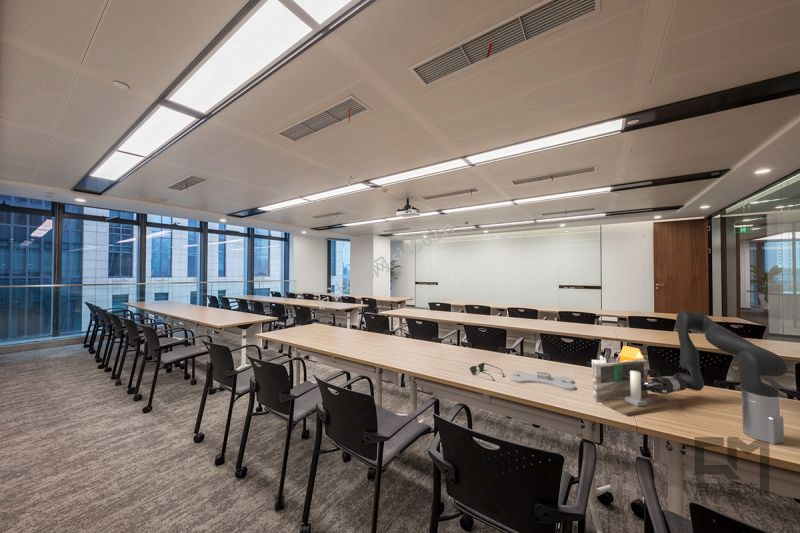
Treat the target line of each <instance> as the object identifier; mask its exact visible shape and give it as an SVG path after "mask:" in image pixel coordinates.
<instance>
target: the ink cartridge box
mask: <svg viewBox="0 0 800 533" xmlns="http://www.w3.org/2000/svg"><path fill="white" fill-rule="evenodd" d="M601 363H607V358H605V357H603V356H602V355H599V359H591V365H592V364H601ZM591 378H592V380H593V369H592V368H591Z"/></svg>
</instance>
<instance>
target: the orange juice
mask: <svg viewBox="0 0 800 533" xmlns="http://www.w3.org/2000/svg"><path fill="white" fill-rule="evenodd" d="M640 359H644V360H645V358H644V356H643V354H642V351H641V350H640V348H637V347H632V346H627V345H623V346H622V349H621V351H620V353H619V362H620V361H630V360H640Z"/></svg>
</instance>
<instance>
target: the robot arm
mask: <svg viewBox="0 0 800 533" xmlns="http://www.w3.org/2000/svg"><path fill="white" fill-rule="evenodd" d="M675 319H676V320H675V321H676V330H677V334H678V335H677V336H678V342H679V347H680V349H679V350H680V354H679V356H680V358H679V366H680V368H682V369H685V370H687V372H689V374H688V373H683V372H677V373H675V374H673V375H668V376H666V375H665V376H660V377H659V376H657V377H653V378H652V379H651V380H648V381H646V382H643V381H642V380H641V391H645V390H646V391H648V392H651V393H653V394H656V393H657V394H660V395H661V394H662V395H663V394H664V395H668V394H671V393H676V392H682V391H684V390H686V389H689V390H692V391H697V392H700V391H701V390H703V389H704V386H705V382H704V378H703V377H702V373H701V369H700V354H699V351H698V349H697V347H696V346H695V343H694V342H693V341H692V339H691V336H690V333H689V330H692V331H699V332H702V333H703V334H704V336H705V339H706V341H707V342H708V343H710V345H712V346H714V347H715V348H717V349H719V350H720V351H722V352H724V353H728V354H730V355H734V356H737V368H738V379H739V382H740V384H741V403H742V404H741V407H742V408H741V412H742V414H741V415H742V432H743V434H744V435H746V436H748V437H750V438H752V439H755V440H758V441H760V442H764V443H770V444H772V445H777V444H782V443H784V442H785V433H784V432H785V431H784V428H785V427H784V416H782V415H780V411H781V410H780V409H781V408H780V391H779V388H777V387H776V386H774V385H772V384H768V383H765V382H763V381H762V378H761V376H763V377H782V376H784V375H785V374H787V372H788V365H787V364H786V362H785V360H784V359H783V358H782V357H781V356H780V355H779V354H778V353H777V354H776V353H775V352H773V351H770V350H768V349H766V348H764V347H761V346H758V345H756V344H754V343H752V342H750V341H749V340H747V339H745V338H743V337H742V336H739V335H738V334H737V333H735V332H733V331H731V330H729V329H728V328H726V327H724V326H722V325H720V324H718V323H716V322H715V321H713V320H712V319H711V318H710V317H708V316H707V315H706V314H704V313H700V312H695V311H687V310H681V311H678V313H677V315H676V318H675Z"/></svg>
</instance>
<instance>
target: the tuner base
mask: <svg viewBox="0 0 800 533" xmlns="http://www.w3.org/2000/svg"><path fill="white" fill-rule="evenodd" d="M592 369H593V379H592V401H594V402H602V403H601V404H602V405H603V406H605V407H607V408H609V409H612V410H614V411H615V412H618V413H620V414H622V415H623V416H626V417H630V416H636V415H643V414H649V413H654V412H655V413H656V412H660V411H667V410H673V409H678V408H679V409H680V408H683V406H682V403H680V402H678V401H674V400H672V399H669V398H667V397H663V396H661V395H659V394H656V393H652V394H649V391H646V390H645V391H641V399H644V400H646V401H647V405H643V406H636V405H633V404H631V403H629V402H626V401H625V397H629V396H631V393H630V378H627V377H624V376H621V375H619V373H621V374H624V375H627V376H630V371H638V372H640V373H641V380H642V381H643V382H646V381H649V380H648V360H647V359H645V358H644V359H640V360H630V361H620V360H619V361H613V362H612V361H611V362H606V363H601V364H592V363H591V370H592Z"/></svg>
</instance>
